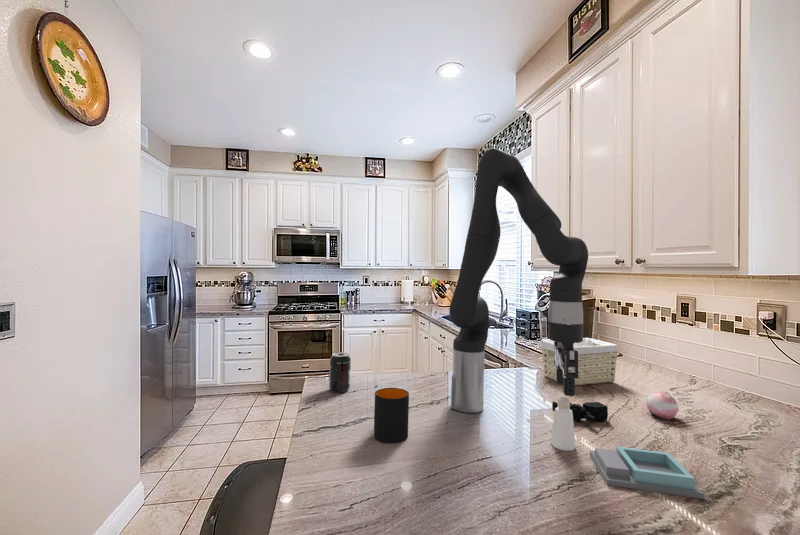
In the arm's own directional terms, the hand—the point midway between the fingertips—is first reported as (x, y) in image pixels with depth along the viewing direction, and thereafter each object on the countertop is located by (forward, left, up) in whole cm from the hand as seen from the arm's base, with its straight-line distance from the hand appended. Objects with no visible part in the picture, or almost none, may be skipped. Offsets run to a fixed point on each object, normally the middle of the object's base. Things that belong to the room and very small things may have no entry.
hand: (565, 389), depth 86 cm
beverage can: (-65, +21, -13) cm, 70 cm away
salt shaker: (0, 0, -13) cm, 13 cm away
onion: (+32, +28, -13) cm, 44 cm away
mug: (-41, -5, -13) cm, 44 cm away
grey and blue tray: (+13, -9, -13) cm, 20 cm away
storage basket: (+17, +62, -14) cm, 65 cm away
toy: (+8, +18, -13) cm, 24 cm away
